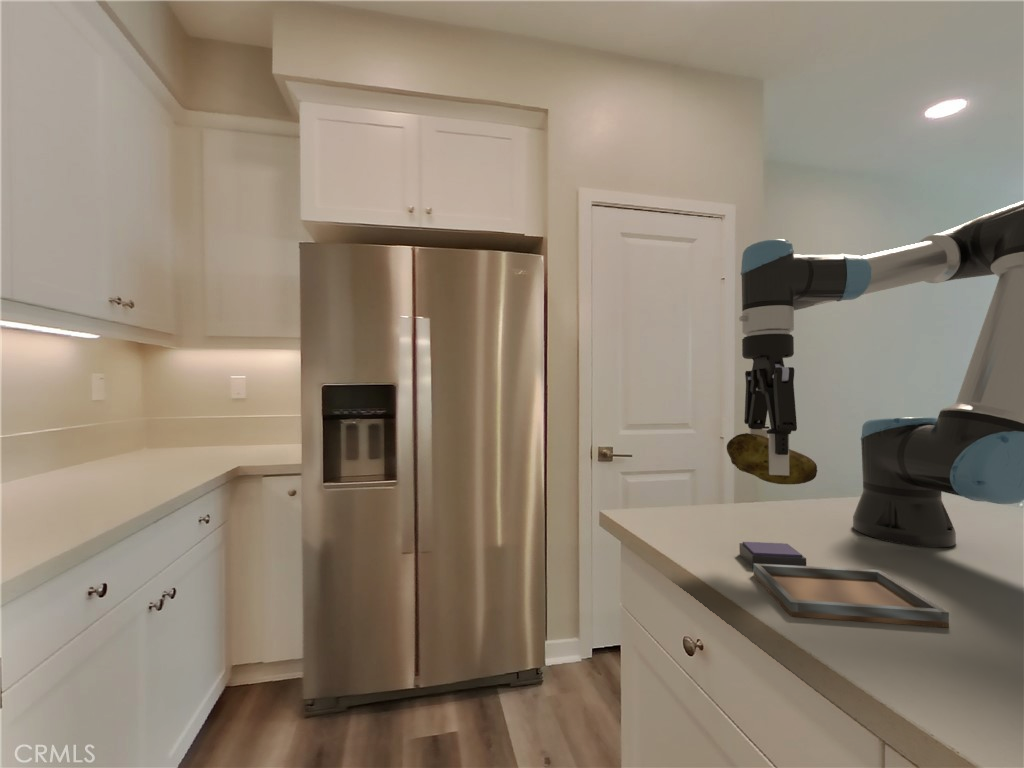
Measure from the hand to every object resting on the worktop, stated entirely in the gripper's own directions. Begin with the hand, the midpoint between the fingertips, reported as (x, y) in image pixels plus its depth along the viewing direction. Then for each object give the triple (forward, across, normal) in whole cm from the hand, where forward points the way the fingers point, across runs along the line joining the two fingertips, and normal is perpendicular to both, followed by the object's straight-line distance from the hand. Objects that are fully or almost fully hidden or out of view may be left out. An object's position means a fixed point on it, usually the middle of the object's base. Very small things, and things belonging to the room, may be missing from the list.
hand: (768, 469), depth 73 cm
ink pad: (+16, 0, 0) cm, 16 cm away
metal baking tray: (+16, +12, +4) cm, 20 cm away
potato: (+2, 0, 0) cm, 2 cm away
